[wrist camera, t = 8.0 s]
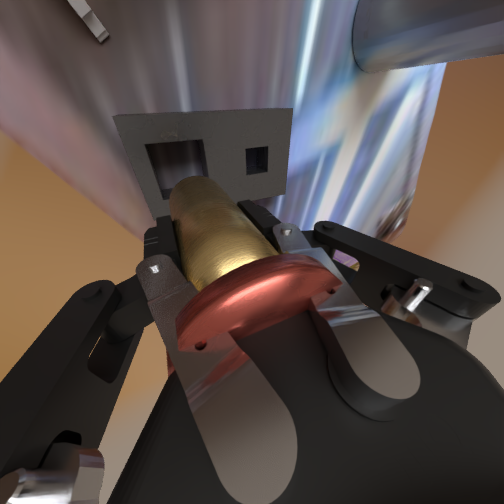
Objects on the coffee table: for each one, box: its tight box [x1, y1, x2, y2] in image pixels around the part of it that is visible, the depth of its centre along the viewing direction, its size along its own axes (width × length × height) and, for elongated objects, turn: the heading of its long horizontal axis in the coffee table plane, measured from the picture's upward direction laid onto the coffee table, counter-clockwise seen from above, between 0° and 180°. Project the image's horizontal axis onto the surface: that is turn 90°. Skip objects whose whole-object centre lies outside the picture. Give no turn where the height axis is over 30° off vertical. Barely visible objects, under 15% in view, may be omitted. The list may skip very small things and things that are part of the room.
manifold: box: [112, 108, 293, 221], centre depth 23 cm, size 18×10×4 cm, turn 91°
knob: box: [166, 176, 343, 377], centre depth 9 cm, size 6×6×11 cm
